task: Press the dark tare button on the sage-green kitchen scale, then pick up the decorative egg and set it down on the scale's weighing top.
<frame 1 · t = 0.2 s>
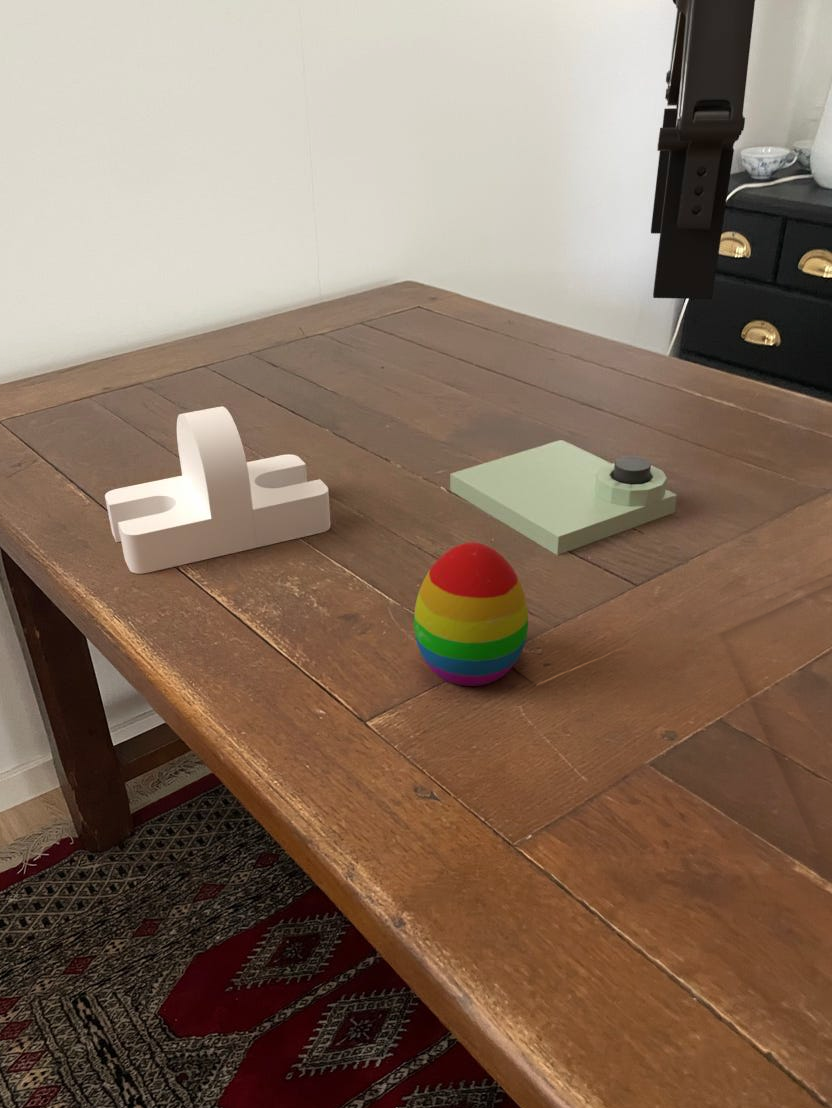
hand: (677, 262, 55), 30 cm above the table, tool pointing down, fingers open, 13 cm apart
decorative egg: (469, 667, 76), on the table
tare button: (631, 471, 93), point 4 cm above the table, slide at 0.1 cm
bracket: (221, 530, 96), on the table
scale: (558, 501, 98), on the table
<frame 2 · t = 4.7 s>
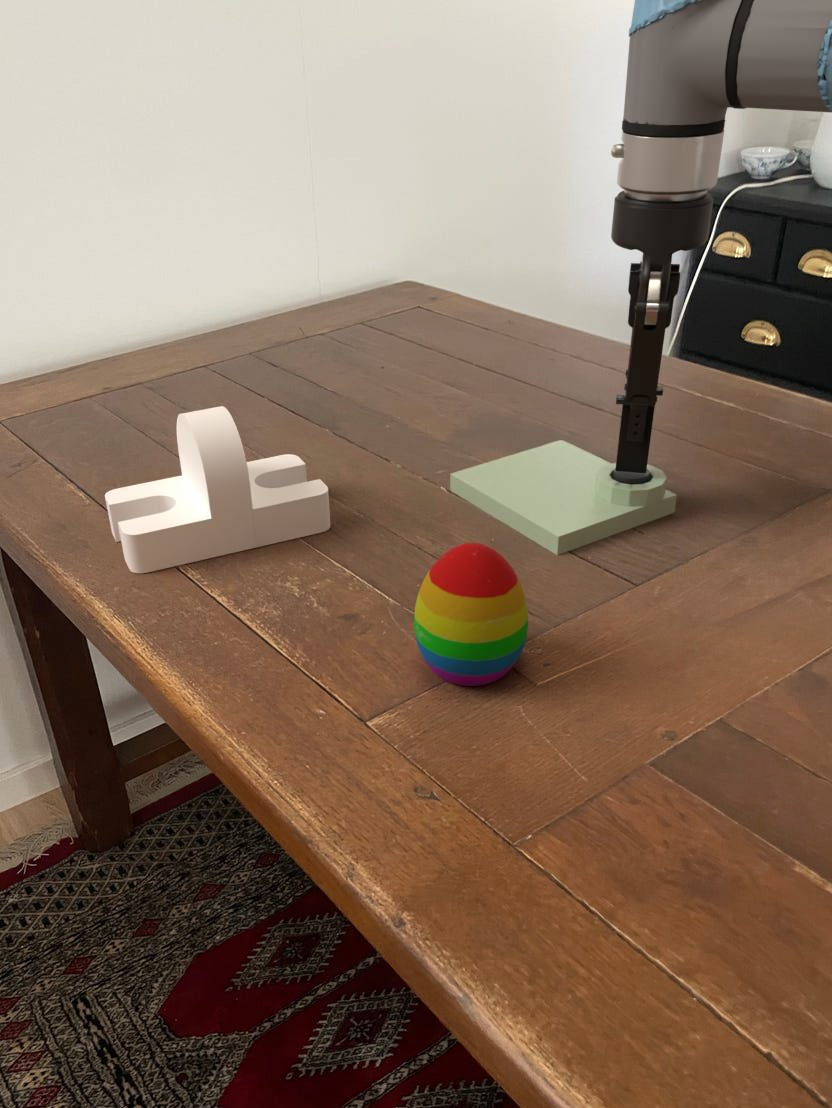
hand: (630, 468, 93), 4 cm above the table, tool pointing down, fingers closed
tare button: (630, 479, 94), point 3 cm above the table, slide at -0.6 cm, touching gripper
everything else where it was.
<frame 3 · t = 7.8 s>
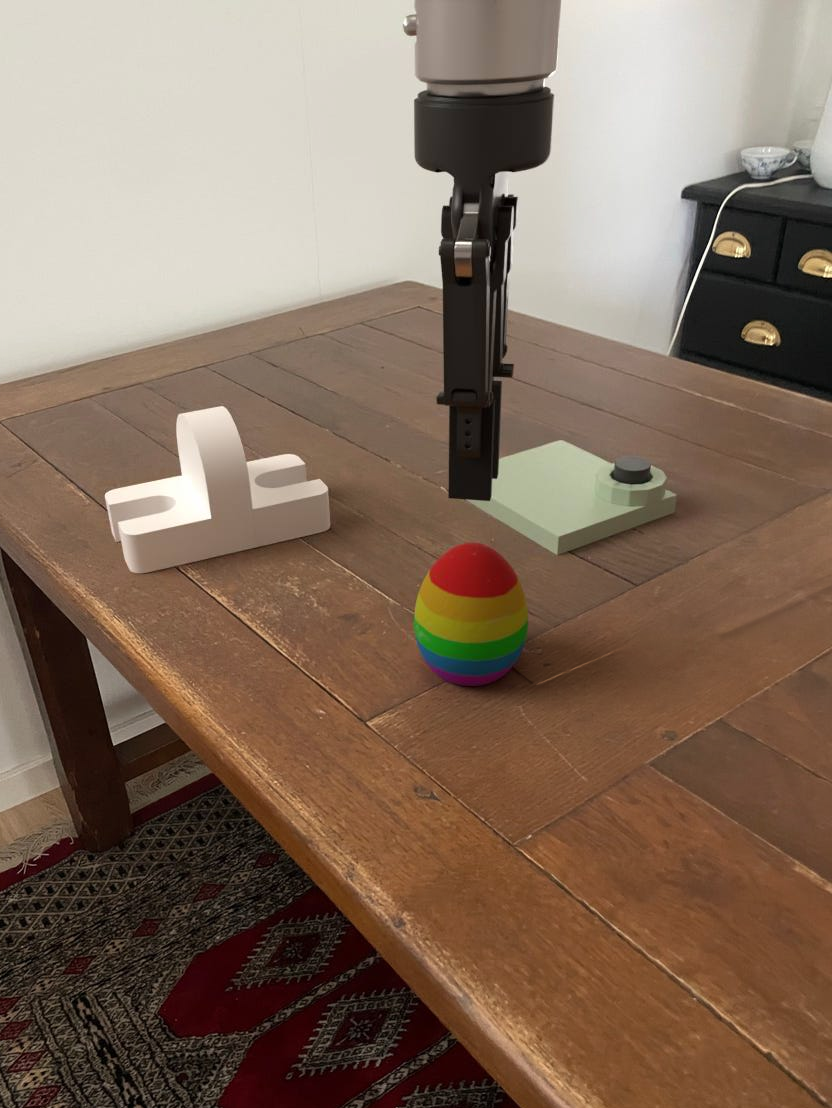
hand: (473, 485, 68), 15 cm above the table, tool pointing down, fingers open, 3 cm apart
tare button: (631, 471, 93), point 4 cm above the table, slide at 0.1 cm
everything else where it was.
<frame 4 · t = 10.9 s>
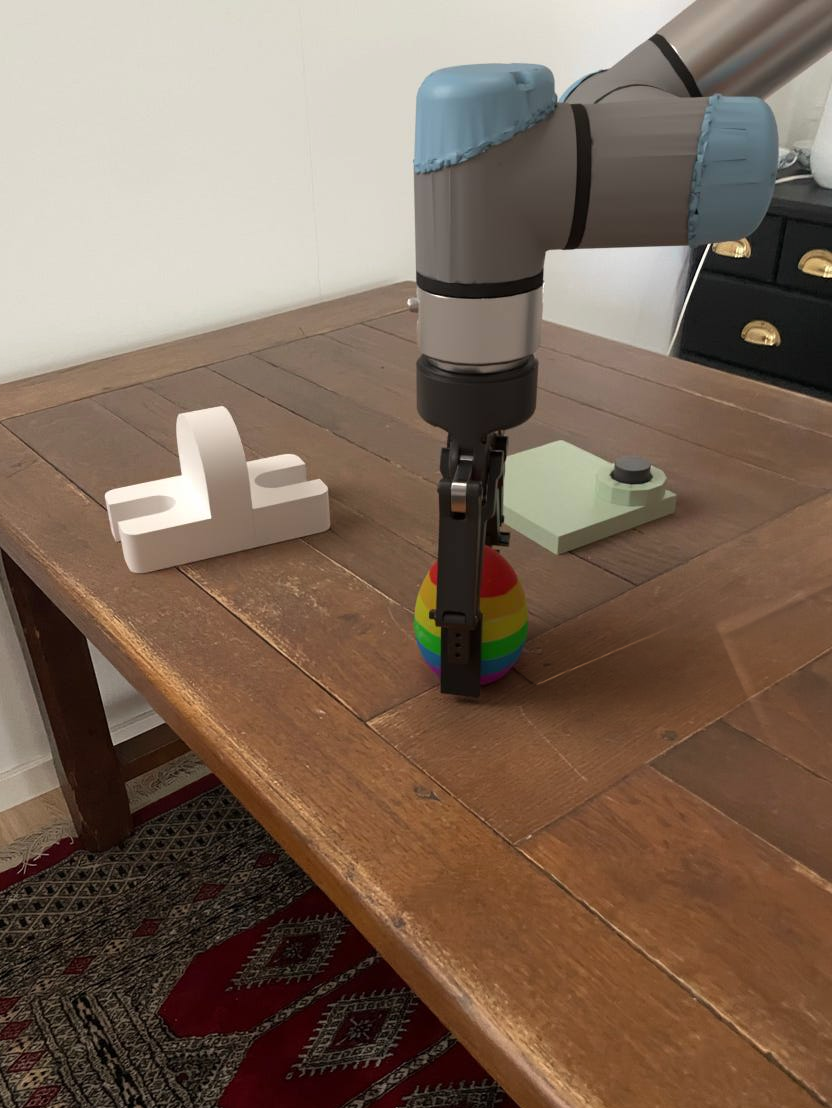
hand: (469, 656, 75), 1 cm above the table, tool pointing down, fingers closed on decorative egg, 8 cm apart
decorative egg: (469, 667, 76), on the table, touching gripper
everything else where it was.
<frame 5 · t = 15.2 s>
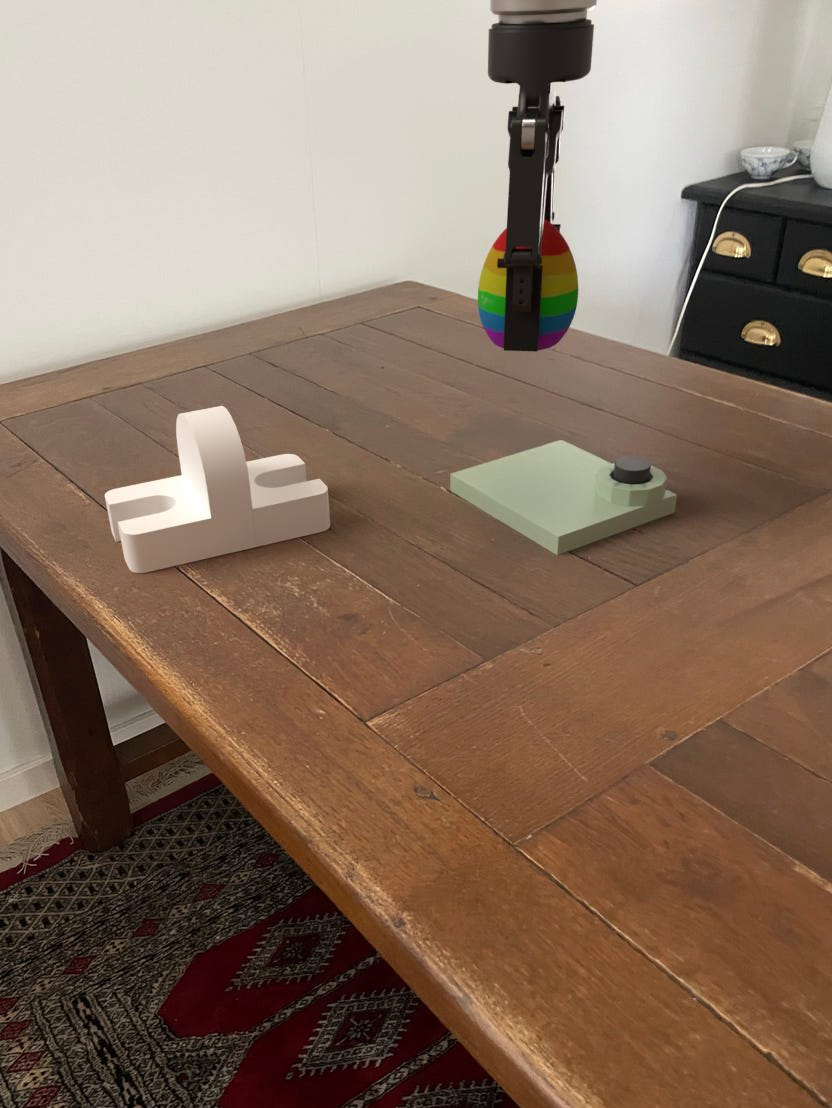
hand: (526, 332, 86), 17 cm above the table, tool pointing down, fingers closed on decorative egg, 8 cm apart
decorative egg: (525, 344, 87), point 16 cm above the table, touching gripper
everything else where it was.
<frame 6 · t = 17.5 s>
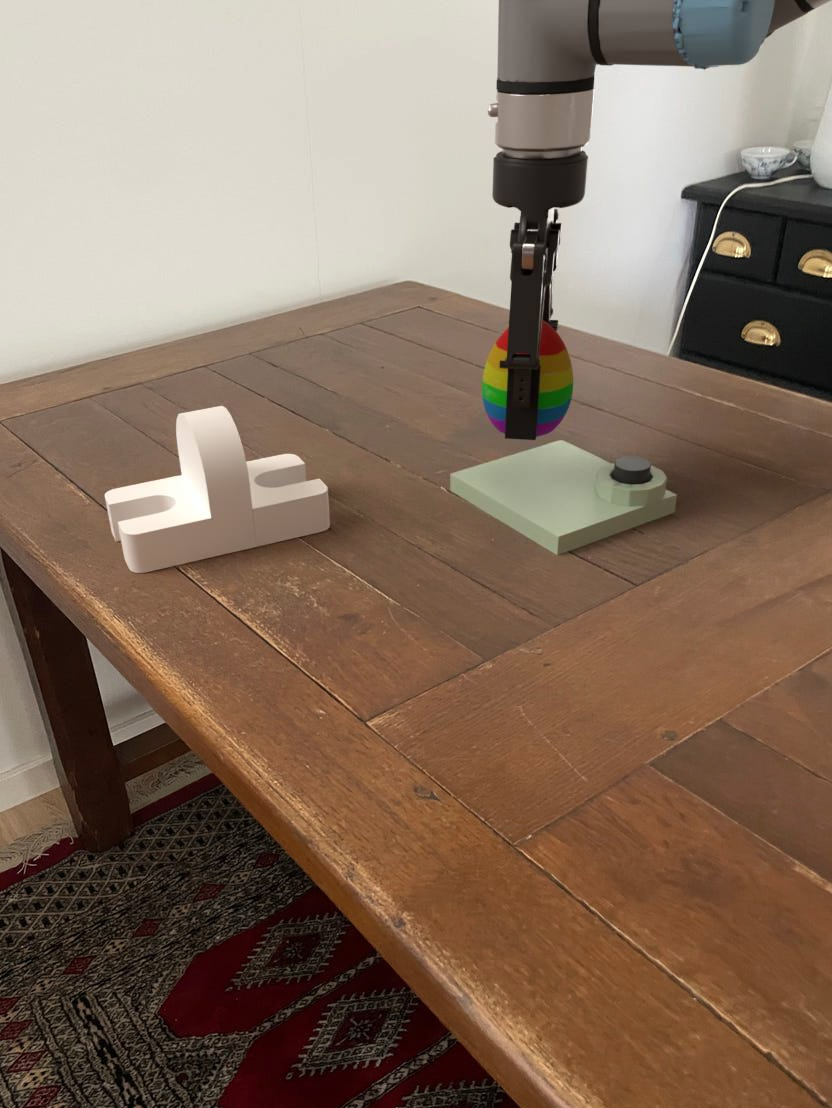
hand: (525, 418, 95), 8 cm above the table, tool pointing down, fingers closed on decorative egg, 8 cm apart
decorative egg: (524, 428, 95), point 7 cm above the table, touching gripper
everything else where it was.
when the fingers open (3 cm above the table, at t = 19.5 s): decorative egg stays where it is, resting on scale.
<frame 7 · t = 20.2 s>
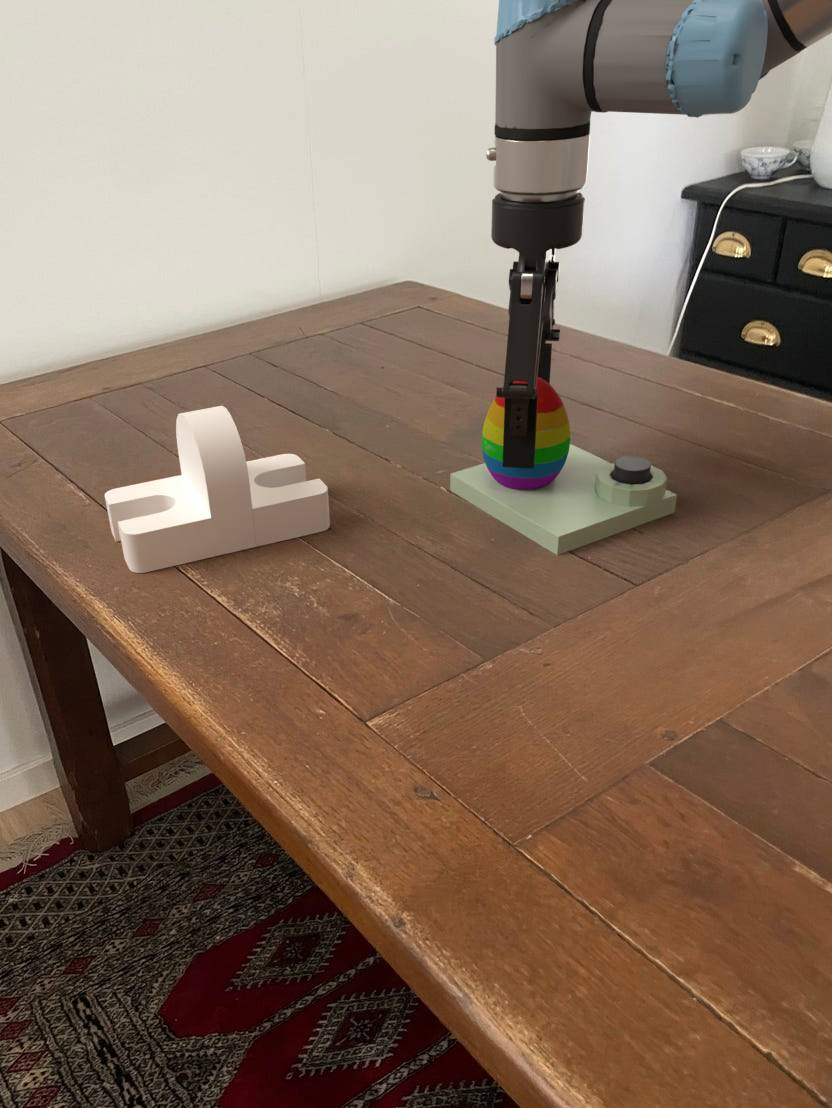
hand: (526, 436, 95), 6 cm above the table, tool pointing down, fingers open, 13 cm apart
decorative egg: (523, 480, 98), point 2 cm above the table, touching scale
everything else where it was.
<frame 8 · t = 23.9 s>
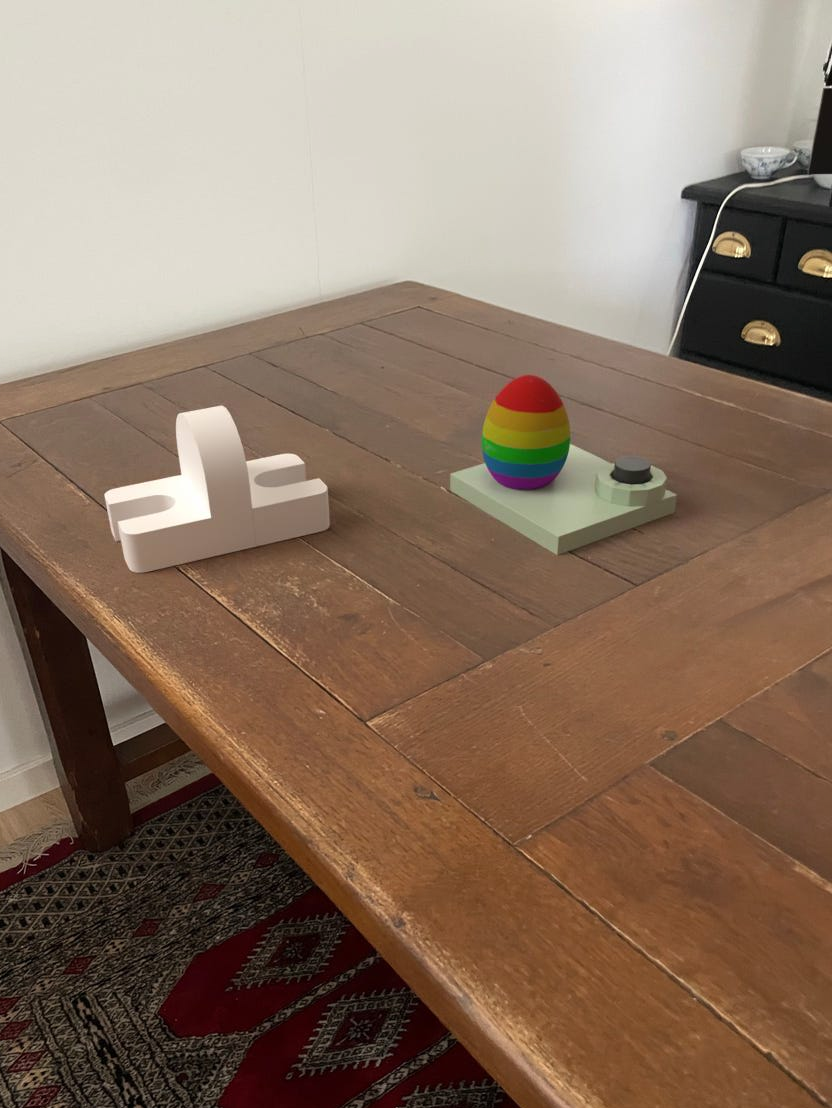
nothing on the table moved.
at the end: tare button pushed in 0.8 cm at the most during the clip, back to where it started at the end; decorative egg inside the target area on the scale (3.6 cm from its centre), point 1.7 cm above the scale's base; decorative egg touching scale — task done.
